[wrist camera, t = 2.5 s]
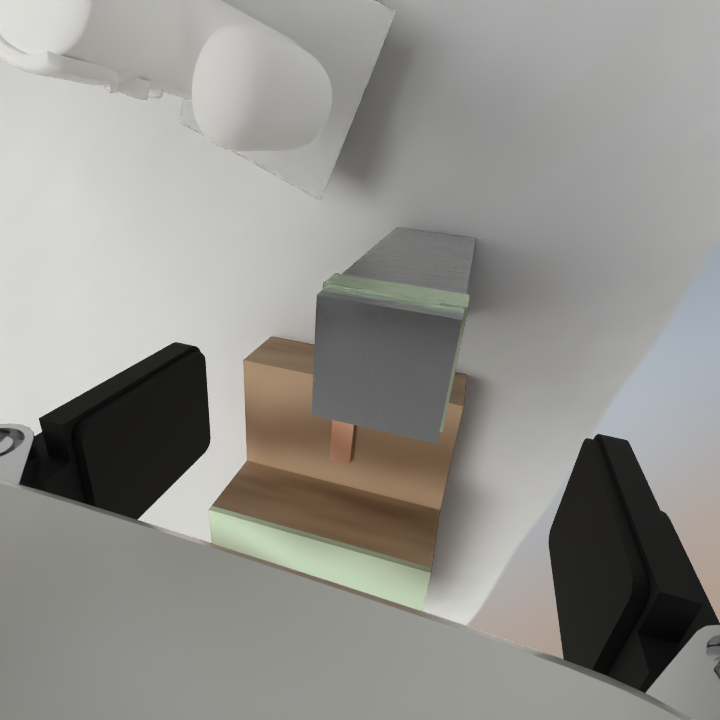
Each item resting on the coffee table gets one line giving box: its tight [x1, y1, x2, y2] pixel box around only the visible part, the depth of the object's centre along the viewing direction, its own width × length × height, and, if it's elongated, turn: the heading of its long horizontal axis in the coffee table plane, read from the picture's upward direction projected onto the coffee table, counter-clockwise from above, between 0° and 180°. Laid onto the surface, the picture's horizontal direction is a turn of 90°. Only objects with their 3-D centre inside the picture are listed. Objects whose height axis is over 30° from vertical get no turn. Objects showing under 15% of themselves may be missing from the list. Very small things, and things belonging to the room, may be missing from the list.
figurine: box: [0, 0, 396, 200], centre depth 15 cm, size 7×9×15 cm
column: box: [312, 228, 476, 444], centre depth 18 cm, size 4×4×12 cm
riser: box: [209, 337, 467, 611], centre depth 27 cm, size 17×12×8 cm
